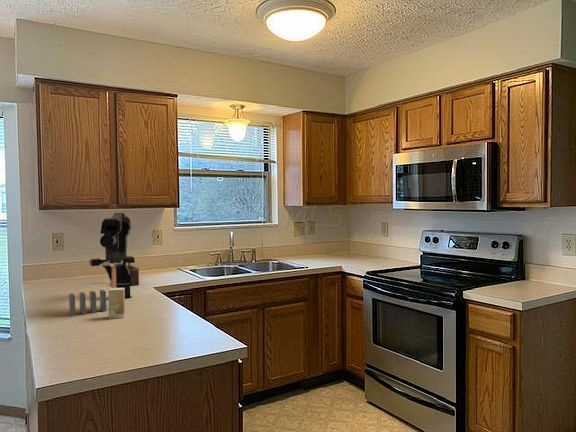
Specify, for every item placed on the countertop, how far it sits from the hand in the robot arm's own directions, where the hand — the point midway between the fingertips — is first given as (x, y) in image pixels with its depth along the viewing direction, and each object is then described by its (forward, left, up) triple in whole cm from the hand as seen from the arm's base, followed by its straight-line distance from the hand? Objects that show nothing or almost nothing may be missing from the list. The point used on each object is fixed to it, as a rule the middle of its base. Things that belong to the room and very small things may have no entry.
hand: (112, 279), depth 204 cm
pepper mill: (-20, -57, -14) cm, 62 cm away
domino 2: (+13, +1, -13) cm, 19 cm away
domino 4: (+5, +1, -13) cm, 14 cm away
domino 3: (+9, +1, -13) cm, 16 cm away
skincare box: (+2, +17, -14) cm, 22 cm away
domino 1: (+17, +1, -13) cm, 22 cm away
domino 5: (0, +1, -3) cm, 3 cm away
